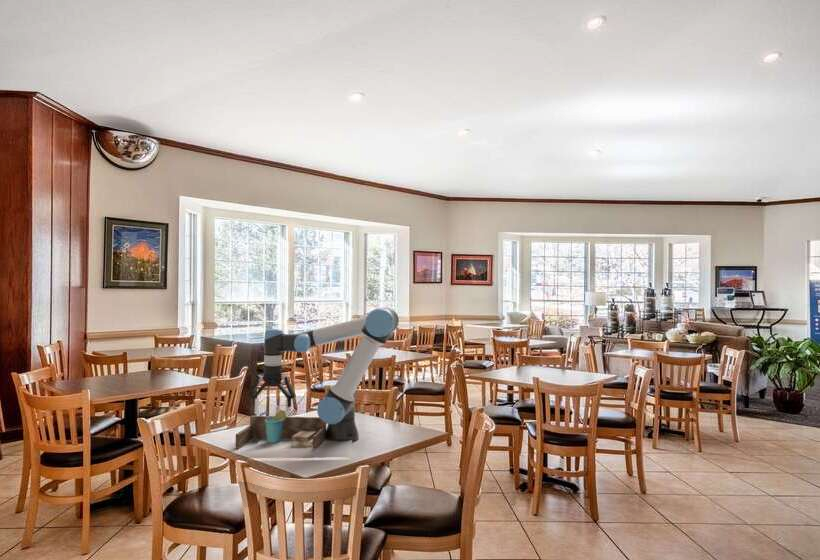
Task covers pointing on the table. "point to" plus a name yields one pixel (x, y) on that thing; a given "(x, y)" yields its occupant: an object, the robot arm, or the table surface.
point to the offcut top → (304, 436)
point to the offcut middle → (303, 443)
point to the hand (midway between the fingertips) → (271, 414)
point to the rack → (282, 429)
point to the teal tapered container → (274, 426)
